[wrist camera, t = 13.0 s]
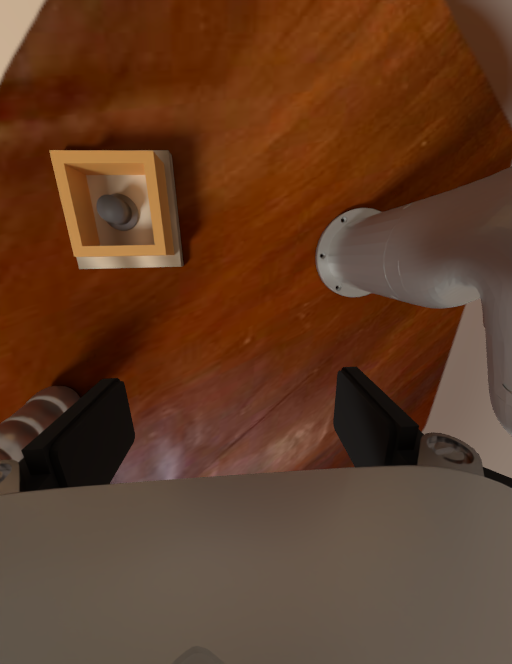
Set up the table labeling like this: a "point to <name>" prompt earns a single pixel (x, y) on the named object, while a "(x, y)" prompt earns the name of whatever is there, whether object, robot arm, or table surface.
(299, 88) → the table surface
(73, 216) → the tan square frame
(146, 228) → the board
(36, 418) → the plastic bottle
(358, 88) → the table surface
